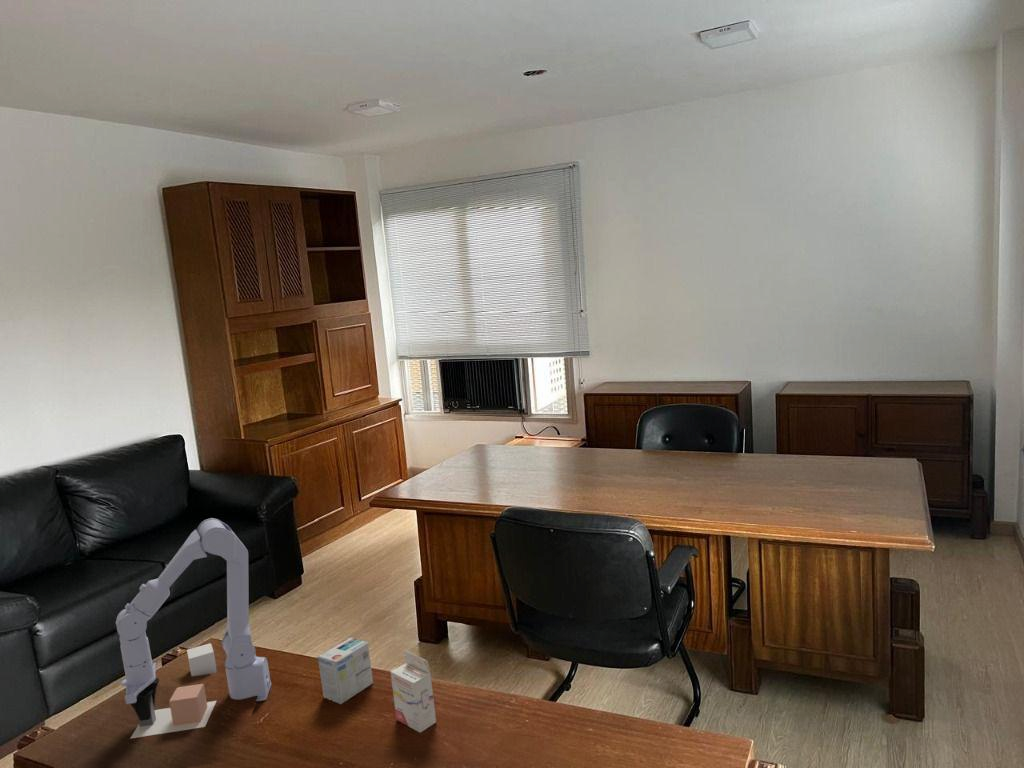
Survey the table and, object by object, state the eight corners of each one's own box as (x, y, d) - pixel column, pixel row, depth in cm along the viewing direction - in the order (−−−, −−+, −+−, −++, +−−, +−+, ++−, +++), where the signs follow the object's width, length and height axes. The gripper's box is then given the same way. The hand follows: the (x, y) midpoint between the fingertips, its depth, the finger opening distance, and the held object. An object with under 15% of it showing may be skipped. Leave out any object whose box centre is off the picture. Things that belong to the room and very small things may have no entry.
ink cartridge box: (394, 720, 171) (387, 658, 169) (412, 710, 175) (404, 649, 173) (420, 733, 166) (412, 669, 163) (437, 722, 169) (430, 659, 167)
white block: (190, 671, 204) (186, 649, 203) (214, 664, 206) (210, 642, 205) (192, 680, 198) (188, 658, 197) (217, 673, 201) (213, 651, 200)
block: (207, 707, 182) (203, 683, 181) (200, 721, 176) (196, 697, 175) (181, 711, 181) (177, 687, 181) (173, 725, 176) (169, 701, 175)
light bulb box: (355, 676, 192) (350, 636, 191) (374, 683, 188) (369, 641, 187) (322, 698, 184) (316, 655, 182) (341, 705, 180) (335, 661, 178)
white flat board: (217, 704, 185) (212, 677, 184) (205, 730, 174) (200, 701, 173) (147, 715, 183) (142, 687, 182) (130, 742, 172) (125, 713, 171)
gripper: (130, 648, 182) (139, 701, 184) (106, 679, 168) (117, 737, 170) (161, 643, 183) (170, 697, 185) (140, 674, 169) (150, 732, 171)
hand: (147, 716), depth 178 cm, fingers closed on white flat board, 2 cm apart
